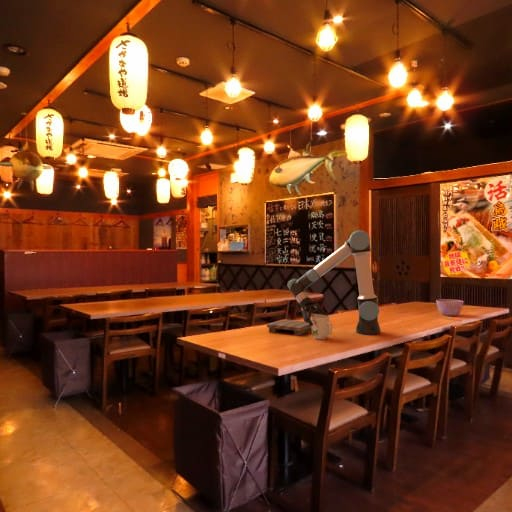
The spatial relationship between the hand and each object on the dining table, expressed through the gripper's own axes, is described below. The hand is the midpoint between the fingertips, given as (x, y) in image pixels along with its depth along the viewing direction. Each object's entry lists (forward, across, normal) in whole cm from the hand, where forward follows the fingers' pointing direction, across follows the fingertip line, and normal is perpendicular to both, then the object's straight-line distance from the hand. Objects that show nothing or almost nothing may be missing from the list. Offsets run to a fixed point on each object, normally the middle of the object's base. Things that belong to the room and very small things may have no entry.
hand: (323, 328), depth 253 cm
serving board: (-16, -4, -26) cm, 31 cm away
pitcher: (+4, 0, -6) cm, 7 cm away
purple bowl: (+15, -138, +6) cm, 139 cm away
